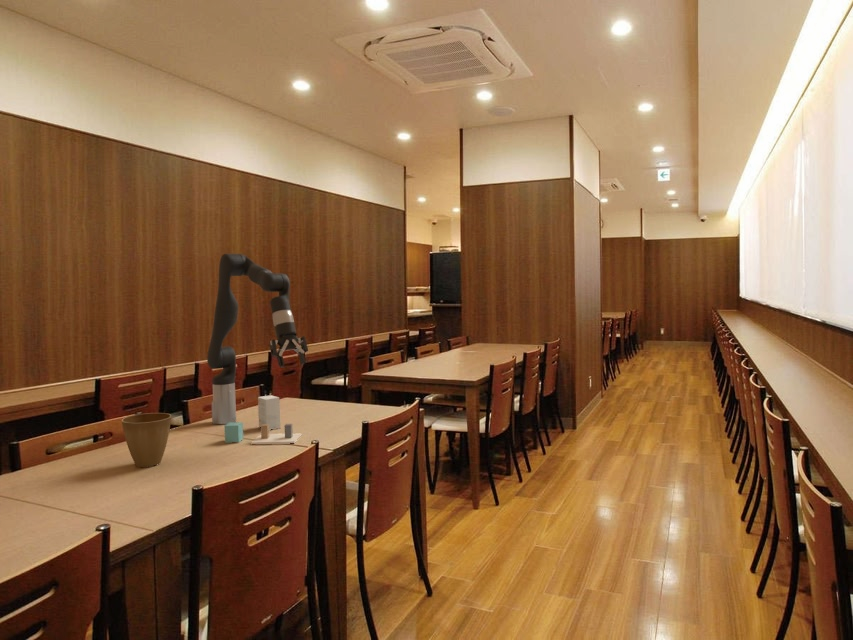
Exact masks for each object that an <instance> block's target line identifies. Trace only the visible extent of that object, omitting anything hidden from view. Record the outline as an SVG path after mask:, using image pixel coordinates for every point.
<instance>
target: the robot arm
mask: <svg viewBox="0 0 853 640" xmlns="http://www.w3.org/2000/svg"><path fill="white" fill-rule="evenodd" d="M218 267H219V268H218V287H217V294H216V295H217V296H216V302H215V308H214V315H213V326H212V333H211V338H210V340H209V341H210V342H209V347H208V351H207V357H206V358H207V359H206V360H207V365H208V366H209V367H208V368H209V369H213V370H214V369H215V370H216V369H217V370H218V369H222V370H221V372H219V374H217V375H215V376H213V378H212V380H211V381H212V401H211V421H212V422H211V424H212V425H213V424H215V425H226V424H228V423H232V422H236V421H237V409H236V408H237V407H236V406H237V405H236V402H237V401H236V383H235V380H236V371H237V370H236V368H237V367H236V366H237V364H236V363H237V358H236V357H237V356H236V352H235V349H234V348H233V347H232V346H230V345H229V346H223V343H224V340H225V338H226V337H227V335H228V334H229V332H230V331H231V330H232V329H233V327H234V326H235V325H236V323H237V320H238V314H239V303H238V301H237V298H236V297H235V295H234V292H233V291H232V288H231V277H241V276H243V277H244V276H247V277H248V280H250V281H251V282H252V283H254V284H256V285H258V286H259V287H260V288H261V289H262V290H263V291H264V292H268V293H274V292H275V293H276V292H277V293H278V295H277V296H275V297H272V298H271V299H270V301H269V302H270V308H271V313H272V314H271V315H272V322H273V328H274V333H275V337H276V339H274V338H273V339H271V340H270V341H269V347H270V348H269V349H270V356H271V357H272V358H273V357H274V358H276V359H277V364H278V367H280V368H285V361H284V356H283V353H284V352H285V351H292V350H293V351H294V352H296V353H297V354H298V359H299V363H300V365H305V363H306V360H307V359H306V356H305V353H307V352H308V351H309V347H308V343H307V340H306V337H305V335H304V336H301V337H298V336H297V329H296V325H295V324H296V323H295V320H294V315H293V312H292V309H291V303H290V289H291V281H290V278H289V276H288V275H287V274H285V273H281V272H279V273H278V272H277V273H274V272H272V271H271V270H270V269H268V268H266V267H263V266H261V265H259V264H257V263H256V262H254V261H253V260H251V259H250V258H249V257H248V256H246V255H245V254H241V253H223V254H222V255H221V257H220V260H219V265H218ZM299 344H300V345H299ZM277 345H278V346H279V347H278V348H277ZM277 349H278V350H277Z"/></svg>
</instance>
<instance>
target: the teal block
mask: <svg viewBox="0 0 853 640" xmlns="http://www.w3.org/2000/svg"><path fill="white" fill-rule="evenodd" d="M243 423H244V422H242V421H241V422H240V421H239V422H238V421H237V422H232V423H228V424H224V443H225V444H233V443H232V442H239V443H240V442H242V441H243V440H244V424H243ZM242 439H243V440H242ZM241 440H242V441H241Z"/></svg>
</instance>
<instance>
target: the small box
mask: <svg viewBox="0 0 853 640" xmlns="http://www.w3.org/2000/svg"><path fill="white" fill-rule="evenodd" d="M257 407H258V408H257V410H258V411H257V413H258V428H259V427H261V425H263V424H269V431H272V430H271V429H273V430H277V429H276V428H278V429H281V403H280V397H279V396H274V395H272V394H271V395H264V396H258V397H257Z"/></svg>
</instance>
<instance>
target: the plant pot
mask: <svg viewBox="0 0 853 640" xmlns="http://www.w3.org/2000/svg"><path fill="white" fill-rule="evenodd" d="M171 421H172V414H170V413H166V412H149V413H138V414H132V415H129V416H125V417H123V418H122V419H121V426H122V430H123V434H124V438H125V442H126V445H127V449H128V451H129V453H130V456H131V459H132V461H133V463H134V465H135V467H136V468H140V467H146V468H148V467H147V466H153V465H156V466H158V465H160V464H161V462H162V460H163V456H164V455H165V451H166V447H167V443H168V439H169V434H170V428H171V423H172V422H171ZM159 463H160V464H159ZM157 464H158V465H157ZM153 467H154V466H153Z"/></svg>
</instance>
